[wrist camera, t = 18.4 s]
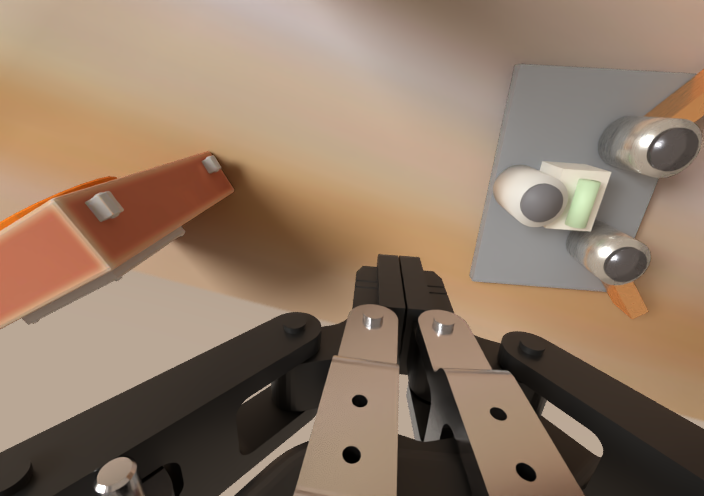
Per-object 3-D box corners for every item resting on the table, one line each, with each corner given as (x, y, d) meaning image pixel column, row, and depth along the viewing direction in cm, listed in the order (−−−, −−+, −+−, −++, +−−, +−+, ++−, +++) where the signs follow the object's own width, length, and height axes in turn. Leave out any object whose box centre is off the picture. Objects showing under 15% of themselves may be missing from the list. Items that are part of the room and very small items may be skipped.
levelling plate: (514, 65, 35) (552, 55, 28) (688, 75, 34) (774, 68, 27) (469, 275, 44) (488, 310, 37) (604, 286, 44) (651, 324, 36)
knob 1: (558, 236, 40) (591, 260, 34) (602, 211, 38) (644, 232, 32) (600, 308, 43) (636, 343, 37) (641, 289, 42) (686, 321, 36)
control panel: (119, 195, 43) (215, 139, 40) (155, 242, 46) (248, 192, 42) (-95, 275, 24) (57, 177, 20) (-13, 350, 26) (136, 274, 22)
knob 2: (614, 176, 37) (660, 191, 31) (588, 141, 36) (631, 150, 30) (732, 87, 33) (812, 84, 27) (707, 45, 32) (785, 33, 26)
